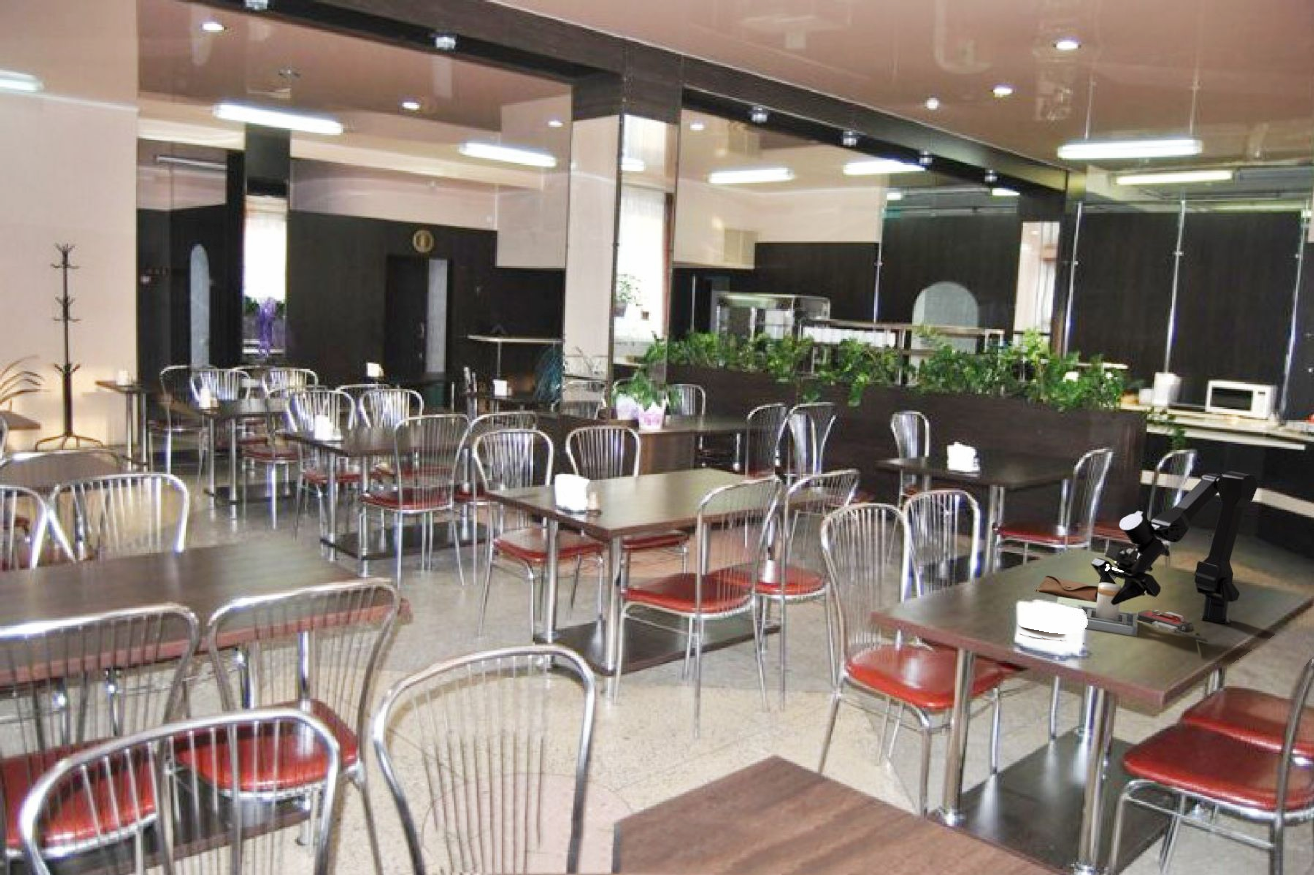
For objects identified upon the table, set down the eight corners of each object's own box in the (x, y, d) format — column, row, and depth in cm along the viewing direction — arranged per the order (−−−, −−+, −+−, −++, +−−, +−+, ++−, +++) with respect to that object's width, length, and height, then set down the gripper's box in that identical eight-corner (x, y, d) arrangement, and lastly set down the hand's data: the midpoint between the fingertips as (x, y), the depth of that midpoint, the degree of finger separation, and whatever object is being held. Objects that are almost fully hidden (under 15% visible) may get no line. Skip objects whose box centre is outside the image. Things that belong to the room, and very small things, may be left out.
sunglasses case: (1032, 590, 286) (1039, 569, 288) (1039, 599, 291) (1046, 578, 293) (1097, 605, 274) (1103, 582, 276) (1103, 613, 279) (1110, 591, 281)
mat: (1058, 600, 278) (1058, 596, 278) (1101, 606, 273) (1101, 603, 273) (1055, 610, 268) (1055, 606, 268) (1100, 617, 263) (1100, 613, 263)
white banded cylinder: (1094, 619, 257) (1098, 581, 256) (1117, 622, 255) (1121, 584, 254) (1094, 624, 253) (1098, 586, 251) (1117, 628, 250) (1121, 589, 249)
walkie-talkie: (1126, 624, 259) (1204, 647, 243) (1128, 607, 259) (1206, 629, 242) (1144, 619, 264) (1222, 641, 248) (1146, 603, 264) (1224, 624, 247)
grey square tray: (1077, 616, 263) (1078, 604, 263) (1135, 625, 257) (1137, 613, 257) (1074, 630, 251) (1075, 618, 250) (1136, 640, 245) (1137, 628, 244)
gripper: (1100, 527, 261) (1061, 570, 259) (1156, 543, 244) (1116, 590, 241) (1121, 555, 265) (1083, 598, 262) (1178, 573, 247) (1138, 619, 245)
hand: (1103, 600), depth 253 cm, fingers closed on white banded cylinder, 5 cm apart
